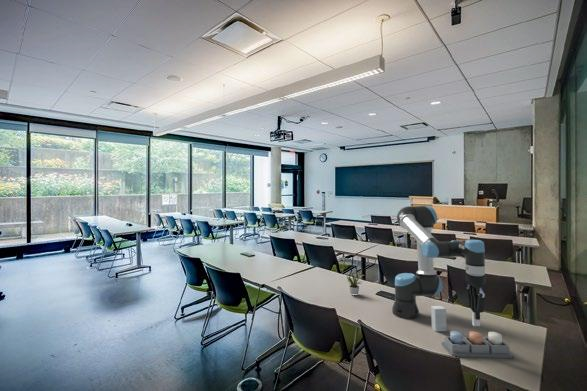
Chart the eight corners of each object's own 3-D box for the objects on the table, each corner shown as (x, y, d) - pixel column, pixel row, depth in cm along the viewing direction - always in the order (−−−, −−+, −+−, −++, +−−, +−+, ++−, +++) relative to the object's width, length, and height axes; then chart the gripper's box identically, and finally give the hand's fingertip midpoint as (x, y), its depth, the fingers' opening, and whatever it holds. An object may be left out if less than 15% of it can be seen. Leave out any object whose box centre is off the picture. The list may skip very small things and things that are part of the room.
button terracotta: (466, 338, 134) (466, 331, 134) (478, 338, 133) (478, 331, 133) (473, 344, 129) (473, 336, 128) (485, 344, 128) (485, 337, 128)
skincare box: (442, 327, 154) (441, 305, 154) (446, 331, 149) (446, 308, 149) (431, 327, 154) (430, 305, 153) (435, 331, 149) (435, 309, 149)
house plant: (364, 291, 211) (364, 269, 211) (367, 298, 197) (367, 274, 197) (345, 291, 212) (344, 269, 212) (346, 297, 199) (346, 274, 198)
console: (441, 344, 137) (441, 335, 137) (498, 345, 135) (498, 336, 135) (451, 356, 127) (451, 346, 127) (513, 357, 125) (513, 347, 125)
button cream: (485, 339, 133) (485, 331, 133) (497, 339, 133) (497, 331, 133) (492, 344, 128) (492, 337, 128) (504, 345, 128) (504, 337, 128)
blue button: (448, 338, 134) (448, 330, 134) (459, 338, 134) (459, 331, 134) (453, 344, 129) (453, 336, 129) (465, 344, 129) (465, 336, 129)
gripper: (459, 270, 137) (460, 319, 137) (474, 278, 124) (475, 332, 124) (475, 270, 137) (476, 319, 137) (492, 278, 124) (493, 332, 124)
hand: (476, 325), depth 131 cm, fingers closed
